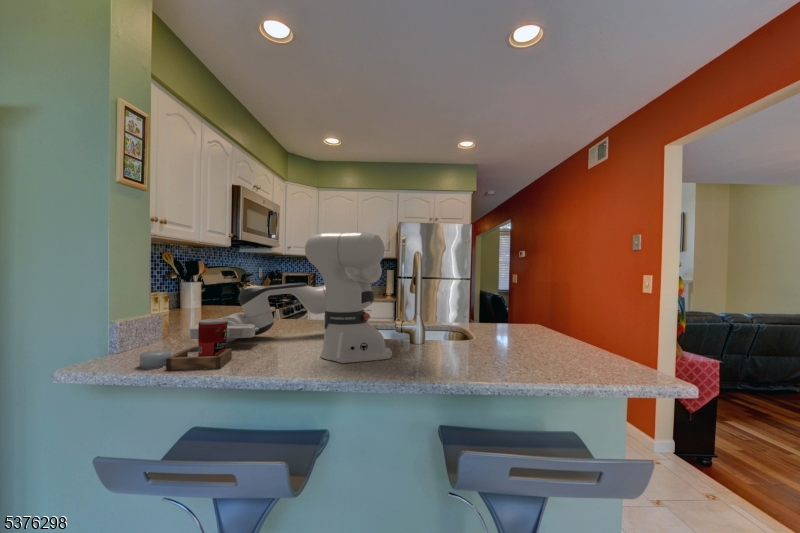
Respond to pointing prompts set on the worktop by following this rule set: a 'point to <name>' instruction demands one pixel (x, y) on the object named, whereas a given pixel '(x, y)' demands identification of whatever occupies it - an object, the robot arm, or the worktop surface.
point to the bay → (197, 361)
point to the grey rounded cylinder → (154, 359)
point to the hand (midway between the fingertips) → (216, 335)
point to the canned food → (212, 337)
